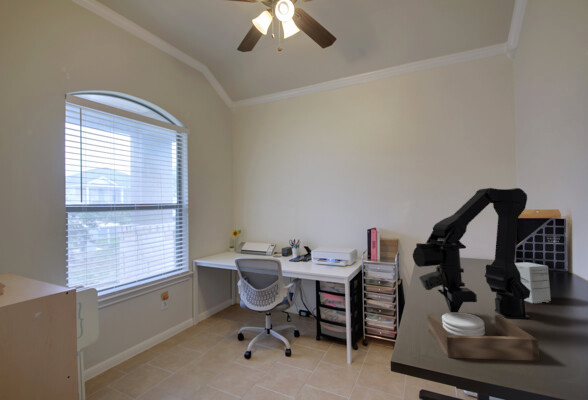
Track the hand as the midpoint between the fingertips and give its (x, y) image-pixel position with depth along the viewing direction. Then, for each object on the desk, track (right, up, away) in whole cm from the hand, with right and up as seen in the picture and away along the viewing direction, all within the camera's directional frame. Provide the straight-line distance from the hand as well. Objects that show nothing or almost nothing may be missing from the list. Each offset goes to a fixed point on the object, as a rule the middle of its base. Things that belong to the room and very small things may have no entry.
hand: (453, 316), depth 81 cm
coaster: (-1, -2, -6) cm, 6 cm away
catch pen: (-2, -1, -13) cm, 13 cm away
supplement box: (+37, -1, +15) cm, 40 cm away
